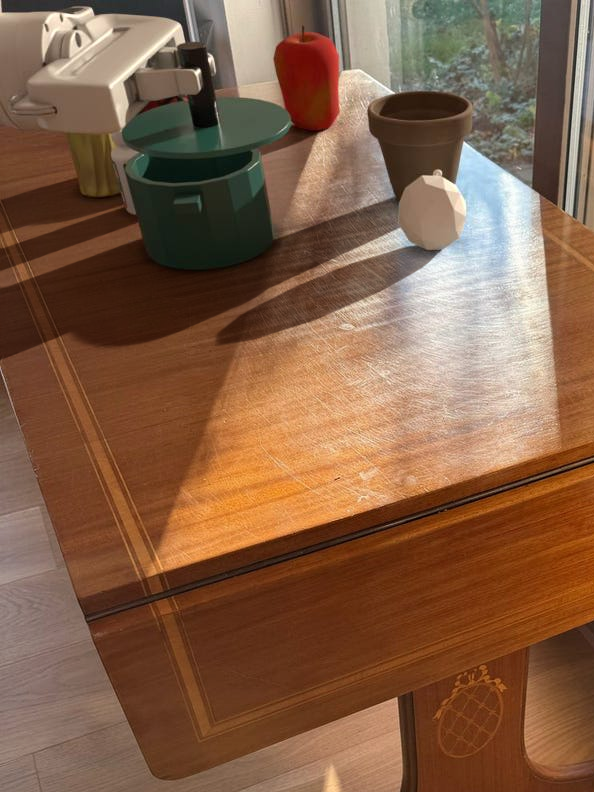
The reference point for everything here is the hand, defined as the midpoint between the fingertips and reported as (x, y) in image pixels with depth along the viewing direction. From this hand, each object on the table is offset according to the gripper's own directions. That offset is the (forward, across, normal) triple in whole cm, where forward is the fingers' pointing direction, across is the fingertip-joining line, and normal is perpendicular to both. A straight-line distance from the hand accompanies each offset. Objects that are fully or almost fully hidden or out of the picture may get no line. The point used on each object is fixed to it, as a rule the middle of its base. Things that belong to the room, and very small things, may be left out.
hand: (206, 73), depth 83 cm
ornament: (+17, +12, +20) cm, 29 cm away
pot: (-8, +13, +20) cm, 25 cm away
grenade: (-20, +39, +20) cm, 48 cm away
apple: (-4, +50, +20) cm, 54 cm away
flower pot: (+14, +25, +20) cm, 35 cm away
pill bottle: (-18, +22, +20) cm, 34 cm away
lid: (-1, 0, +4) cm, 4 cm away
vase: (-25, +28, +20) cm, 42 cm away
